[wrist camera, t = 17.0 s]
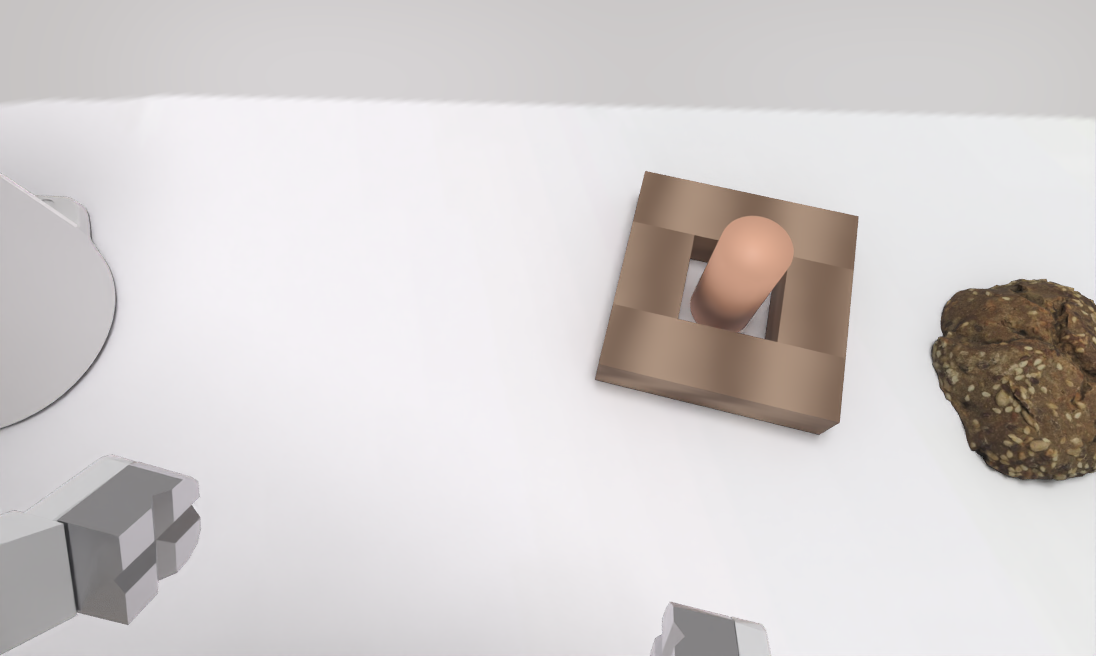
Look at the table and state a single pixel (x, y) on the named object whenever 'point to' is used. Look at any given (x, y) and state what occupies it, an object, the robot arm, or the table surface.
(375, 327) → the table surface
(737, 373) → the pin board
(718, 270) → the pin
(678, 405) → the table surface
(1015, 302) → the bread roll
